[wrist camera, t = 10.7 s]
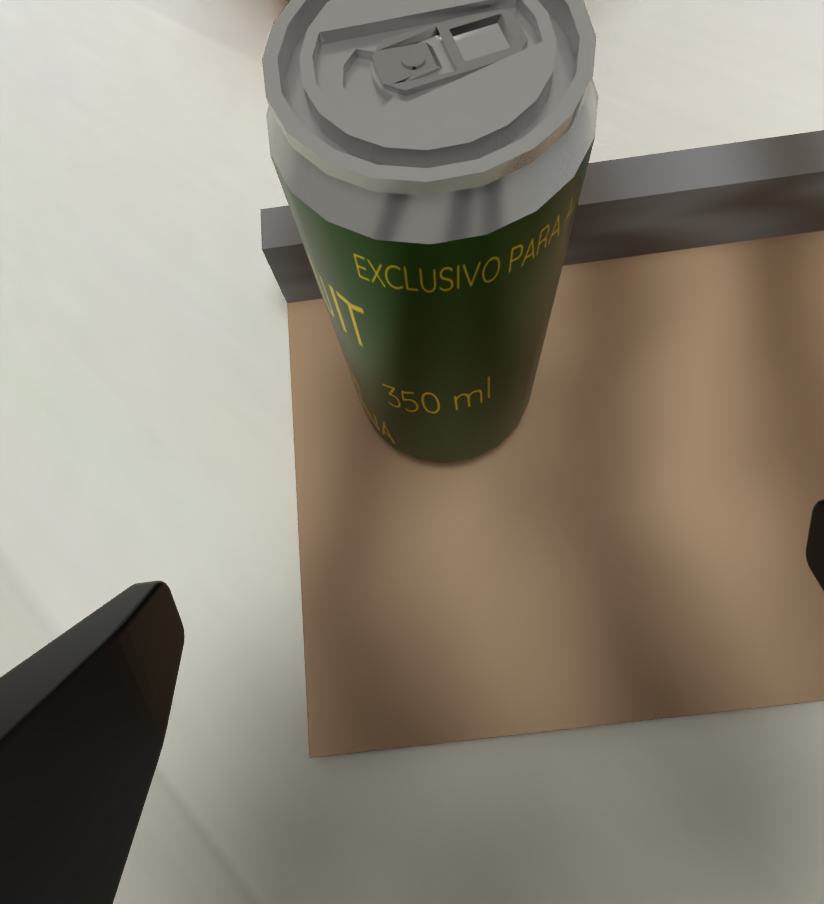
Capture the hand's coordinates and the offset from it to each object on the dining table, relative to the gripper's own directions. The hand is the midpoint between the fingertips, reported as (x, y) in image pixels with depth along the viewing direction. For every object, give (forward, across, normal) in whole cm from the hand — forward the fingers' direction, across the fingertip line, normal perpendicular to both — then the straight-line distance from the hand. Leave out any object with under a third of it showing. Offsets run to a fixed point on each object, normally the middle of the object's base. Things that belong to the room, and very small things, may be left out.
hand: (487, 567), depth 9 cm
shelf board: (+11, -5, +4) cm, 13 cm away
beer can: (+12, 0, +2) cm, 12 cm away
